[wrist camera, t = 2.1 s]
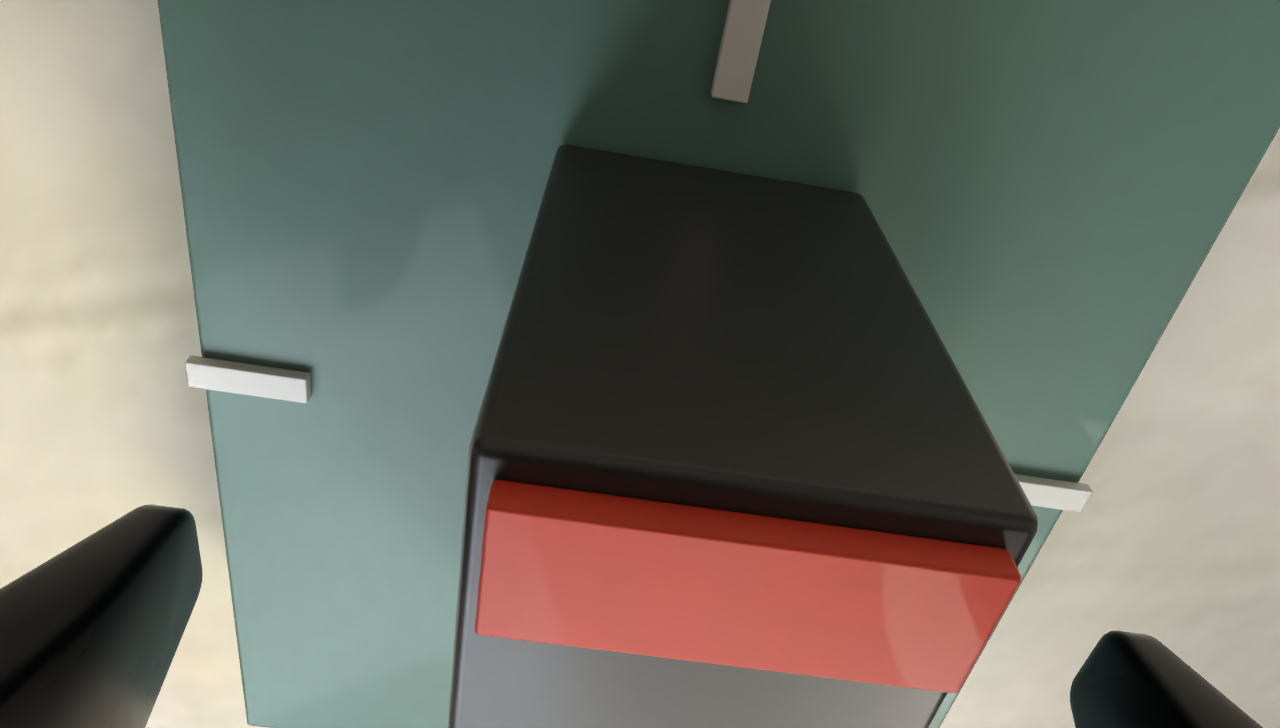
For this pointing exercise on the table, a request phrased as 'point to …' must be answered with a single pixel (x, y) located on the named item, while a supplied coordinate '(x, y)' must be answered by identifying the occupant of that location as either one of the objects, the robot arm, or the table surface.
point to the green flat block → (670, 131)
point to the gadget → (723, 470)
